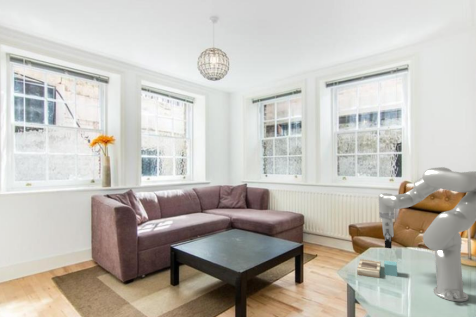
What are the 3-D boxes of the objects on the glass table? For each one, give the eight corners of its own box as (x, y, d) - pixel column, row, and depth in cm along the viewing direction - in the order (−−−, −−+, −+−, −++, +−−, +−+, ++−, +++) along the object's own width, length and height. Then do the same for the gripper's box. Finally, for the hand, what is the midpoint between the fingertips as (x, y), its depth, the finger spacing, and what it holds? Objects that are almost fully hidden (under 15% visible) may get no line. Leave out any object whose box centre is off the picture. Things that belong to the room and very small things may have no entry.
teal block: (397, 276, 144) (396, 265, 144) (384, 274, 147) (384, 264, 147) (397, 272, 149) (396, 262, 149) (385, 271, 152) (384, 260, 152)
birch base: (379, 278, 143) (378, 272, 143) (357, 274, 148) (357, 268, 149) (380, 266, 158) (380, 261, 158) (360, 263, 164) (360, 258, 164)
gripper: (394, 218, 140) (396, 251, 139) (394, 213, 155) (396, 242, 154) (378, 217, 144) (380, 249, 143) (380, 212, 158) (381, 240, 158)
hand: (388, 245), depth 149 cm, fingers open, 9 cm apart
